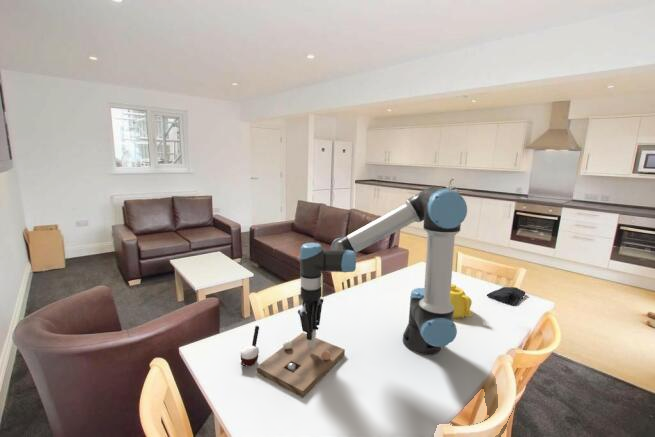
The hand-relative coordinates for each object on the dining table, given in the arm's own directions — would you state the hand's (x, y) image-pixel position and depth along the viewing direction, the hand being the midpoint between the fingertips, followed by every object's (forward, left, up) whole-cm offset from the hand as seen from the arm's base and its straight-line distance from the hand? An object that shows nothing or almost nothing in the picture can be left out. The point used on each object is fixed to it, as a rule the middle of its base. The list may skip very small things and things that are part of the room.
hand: (311, 345), depth 116 cm
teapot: (-34, -70, -5) cm, 78 cm away
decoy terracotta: (-7, +1, -1) cm, 7 cm away
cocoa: (+16, +15, -5) cm, 23 cm away
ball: (+1, +10, -3) cm, 11 cm away
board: (0, +5, -5) cm, 7 cm away
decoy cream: (+8, +4, -1) cm, 9 cm away
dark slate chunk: (-58, -107, -6) cm, 121 cm away
